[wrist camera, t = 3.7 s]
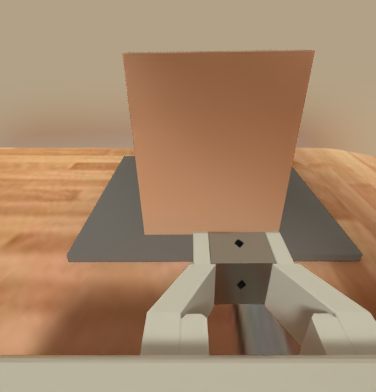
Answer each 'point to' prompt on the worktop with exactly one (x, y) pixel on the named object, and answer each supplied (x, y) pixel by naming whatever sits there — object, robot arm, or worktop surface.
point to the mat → (183, 244)
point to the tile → (215, 136)
